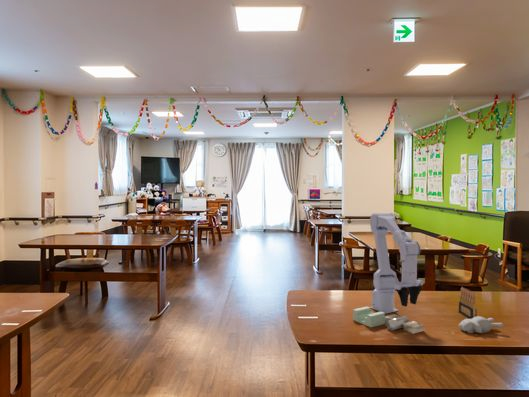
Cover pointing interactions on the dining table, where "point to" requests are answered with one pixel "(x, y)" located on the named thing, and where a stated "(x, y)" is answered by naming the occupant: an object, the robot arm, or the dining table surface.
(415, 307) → the dining table surface
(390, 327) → the axle
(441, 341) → the dining table surface
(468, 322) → the bunny figurine
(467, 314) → the ammunition clip
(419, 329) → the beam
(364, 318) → the v block
